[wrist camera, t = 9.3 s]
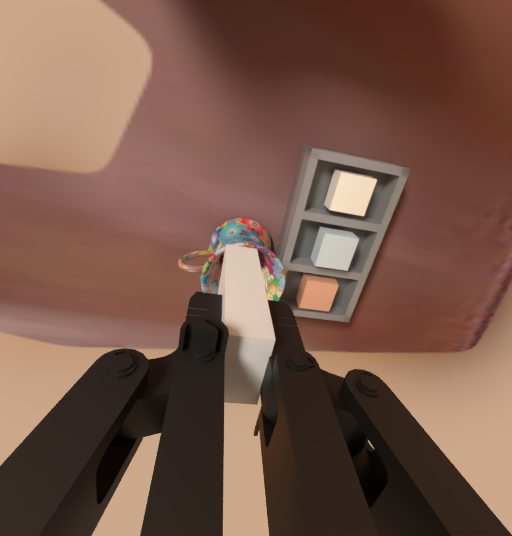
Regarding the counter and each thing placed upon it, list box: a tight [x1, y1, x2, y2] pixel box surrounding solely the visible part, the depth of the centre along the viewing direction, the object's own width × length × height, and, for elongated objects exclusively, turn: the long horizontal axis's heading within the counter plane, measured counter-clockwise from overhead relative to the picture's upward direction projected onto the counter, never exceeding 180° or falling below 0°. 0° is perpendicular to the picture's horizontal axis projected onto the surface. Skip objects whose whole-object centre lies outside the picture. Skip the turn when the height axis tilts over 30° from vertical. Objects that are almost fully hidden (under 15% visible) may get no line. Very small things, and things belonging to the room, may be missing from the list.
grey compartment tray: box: [276, 144, 411, 322], centre depth 41 cm, size 22×12×4 cm, turn 169°
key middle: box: [310, 227, 359, 271], centre depth 39 cm, size 4×4×2 cm
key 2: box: [324, 169, 377, 216], centre depth 37 cm, size 4×4×2 cm
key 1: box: [296, 272, 339, 312], centre depth 43 cm, size 4×4×2 cm
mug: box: [179, 218, 286, 301], centre depth 38 cm, size 12×9×11 cm
